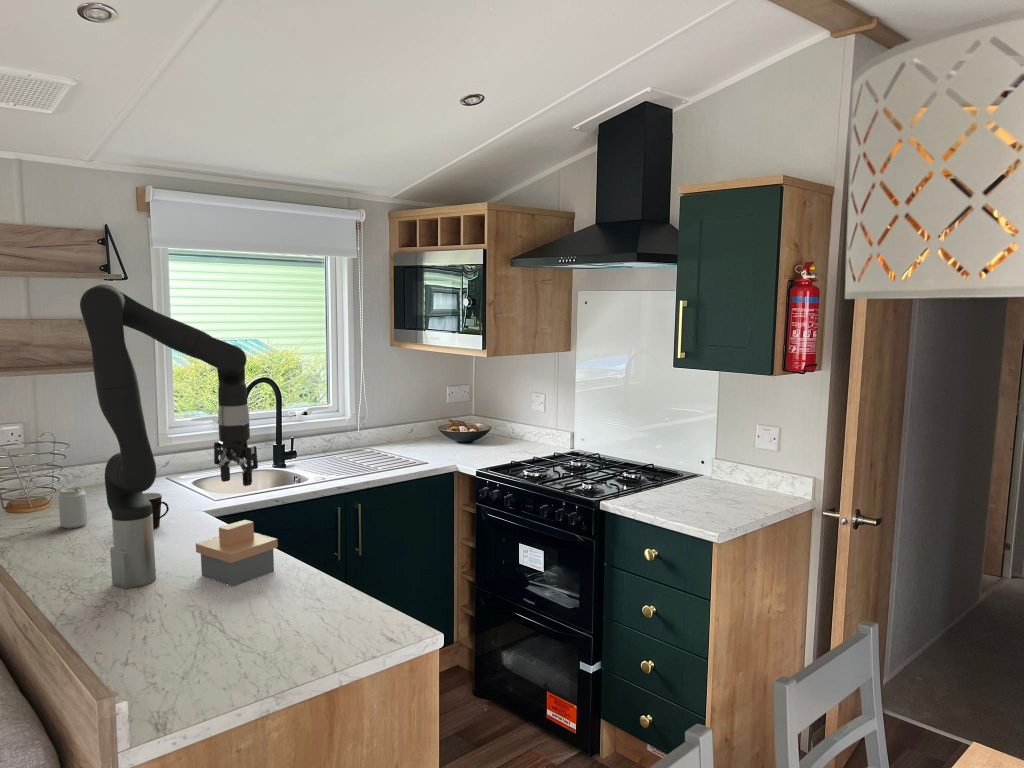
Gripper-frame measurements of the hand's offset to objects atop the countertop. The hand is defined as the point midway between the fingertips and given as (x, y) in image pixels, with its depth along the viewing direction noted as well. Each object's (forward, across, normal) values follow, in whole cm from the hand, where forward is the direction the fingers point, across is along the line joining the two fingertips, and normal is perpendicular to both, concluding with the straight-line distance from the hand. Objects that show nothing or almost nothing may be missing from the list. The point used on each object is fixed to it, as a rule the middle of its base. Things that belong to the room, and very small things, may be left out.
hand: (236, 483), depth 199 cm
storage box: (+24, 0, -1) cm, 24 cm away
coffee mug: (+24, -54, +10) cm, 60 cm away
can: (+24, -77, -2) cm, 80 cm away
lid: (+18, 0, -1) cm, 18 cm away
